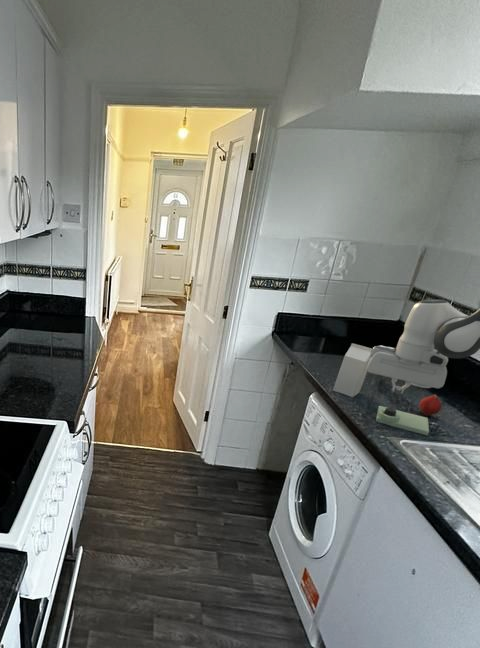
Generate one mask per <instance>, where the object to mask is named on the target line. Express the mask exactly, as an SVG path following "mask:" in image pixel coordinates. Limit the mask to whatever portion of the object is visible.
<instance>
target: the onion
mask: <svg viewBox="0 0 480 648" xmlns="http://www.w3.org/2000/svg"><path fill="white" fill-rule="evenodd" d="M441 409H442V402H441V401H440V399H439V398H438V396H437V394H433V395H430V396H427V397H424V398H422V399H421V400H420V402H419V410H420V411H421V412H422V413H423V415H424V416H426V417H428V416H432V415H435V414H438V413H439V412H440V411H441Z"/></svg>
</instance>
